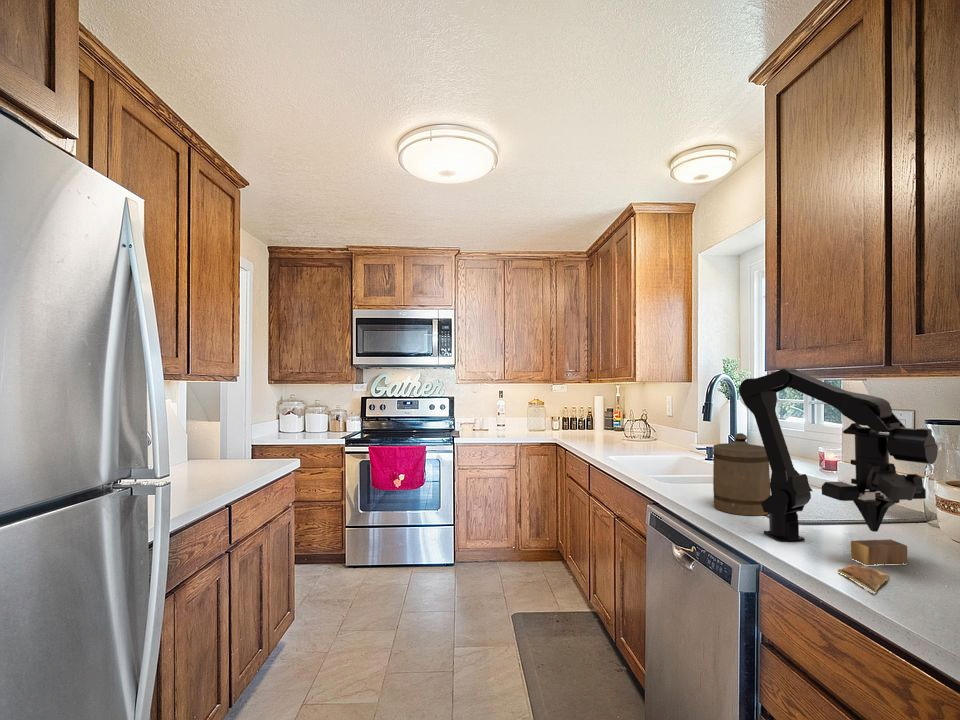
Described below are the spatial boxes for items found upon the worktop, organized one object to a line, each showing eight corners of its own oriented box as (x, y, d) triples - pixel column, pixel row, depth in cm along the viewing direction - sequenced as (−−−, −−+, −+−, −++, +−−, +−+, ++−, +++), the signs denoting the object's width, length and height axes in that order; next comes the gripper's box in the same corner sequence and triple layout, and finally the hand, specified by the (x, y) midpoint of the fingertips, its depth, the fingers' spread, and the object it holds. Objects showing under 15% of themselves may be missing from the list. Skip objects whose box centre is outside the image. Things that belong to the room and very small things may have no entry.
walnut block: (850, 540, 111) (890, 539, 111) (851, 559, 111) (891, 558, 111) (865, 547, 107) (907, 545, 107) (866, 566, 107) (907, 565, 107)
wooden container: (754, 502, 158) (752, 430, 158) (781, 516, 143) (779, 436, 143) (705, 502, 158) (704, 430, 158) (727, 516, 143) (726, 437, 144)
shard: (874, 598, 93) (874, 588, 93) (826, 585, 99) (825, 575, 99) (891, 582, 100) (891, 573, 100) (845, 570, 106) (845, 562, 106)
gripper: (859, 465, 101) (861, 545, 100) (950, 462, 102) (952, 542, 101) (818, 455, 112) (820, 527, 112) (901, 453, 113) (903, 525, 112)
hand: (873, 531), depth 109 cm, fingers closed
